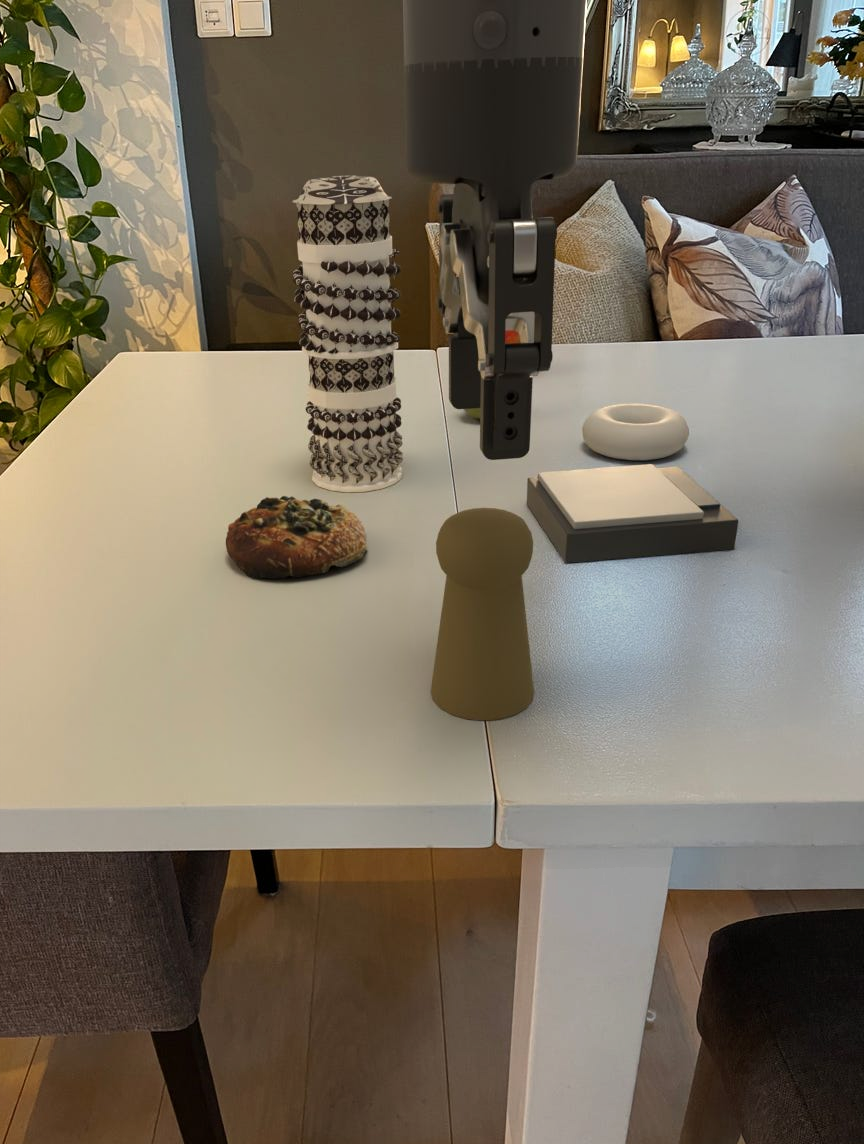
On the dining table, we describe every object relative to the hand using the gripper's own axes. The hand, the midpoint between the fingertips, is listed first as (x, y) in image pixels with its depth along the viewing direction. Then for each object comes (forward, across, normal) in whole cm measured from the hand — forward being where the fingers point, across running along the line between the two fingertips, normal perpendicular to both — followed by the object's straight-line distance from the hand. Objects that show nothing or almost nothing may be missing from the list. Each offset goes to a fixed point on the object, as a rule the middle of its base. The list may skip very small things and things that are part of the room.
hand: (485, 429), depth 48 cm
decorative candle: (+16, +38, +4) cm, 41 cm away
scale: (+16, +22, -16) cm, 31 cm away
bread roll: (+16, +22, +10) cm, 29 cm away
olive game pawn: (+16, 0, 0) cm, 16 cm away
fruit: (+16, +71, -18) cm, 75 cm away
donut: (+16, +40, -23) cm, 49 cm away
